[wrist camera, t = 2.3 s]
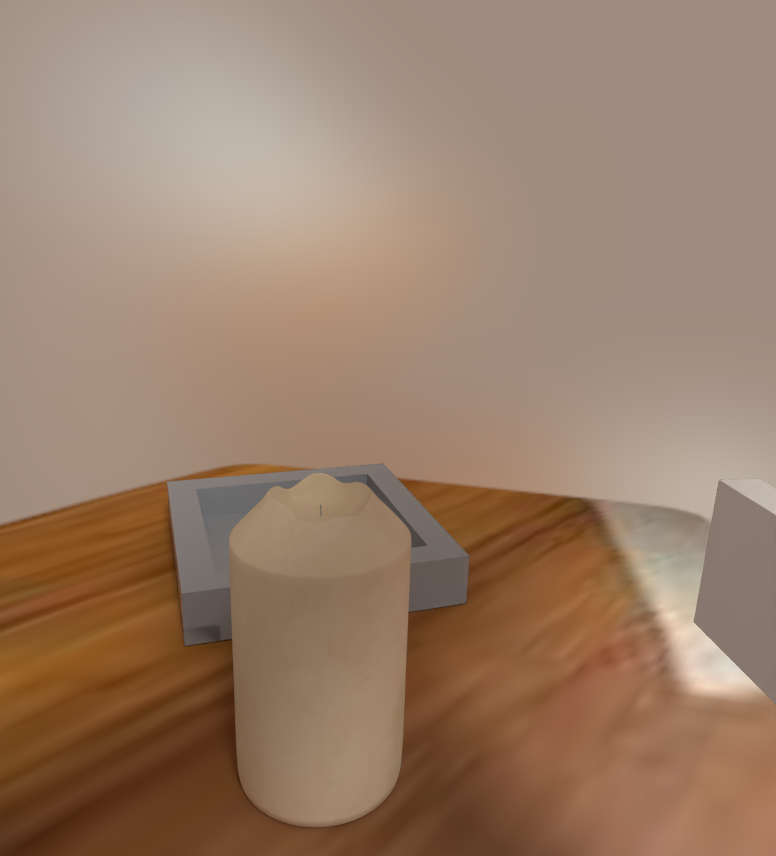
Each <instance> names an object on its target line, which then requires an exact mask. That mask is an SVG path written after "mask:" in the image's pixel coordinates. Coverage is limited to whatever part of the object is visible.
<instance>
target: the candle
mask: <svg viewBox="0 0 776 856" xmlns="http://www.w3.org/2000/svg"><path fill="white" fill-rule="evenodd" d="M410 564H411V533H410V531H409V529H408V528H407V526H406V525H405V524H404V523H403V522H402V521H401V519H400V518H399V517H398V516H397V515H396V514H395V513H394V512H393V511H392V510H391V509H390V508H389V507H388V506H386V505H385V504H384V503H383V502H382V501H381V500H380V499H379V498H378V497H377V496H376V495H375V494H374V492H373V491H372V490H371V489H370V488H369V487H368V486H367V485H365V484H363V483H361V482H353V483H342V482H340V481H338V480H336V479H335V478H334V477H332V476H330V475H328V474H324V473H314V474H312V475H309V476H307V477H306V478H304V479H303V480H302V481H300V482H299V483H298V484H296V485H295V486H294V487H292V488H290V489H285V488H282V487H280V486H275V487H273V488H271V489H270V490H269V491H268V492H267V493H266V495H265V496H264V498H263V499H262V500H261V501H260V502H259V503H258V504H257V505H256V506H255V507H254V508H253V509H252V510H251V511H250V512H249V513H248V514H247V515H245V516H244V517H243V518H242V519H241V521H240V522H239V523H238V524H237V525H236V526H235V527H234V528H233V530H232V531H231V533H230V536H229V566H230V594H231V620H232V647H233V674H234V701H235V728H236V752H237V767H238V774H239V778H240V782H241V785H242V788H243V791H244V792H245V794H246V796H247V798H248V799H249V800H250V801H251V802H252V804H253V805H254V806H256V807H257V808H258V809H259V810H260V811H262V812H263V813H265V814H266V815H268V816H269V817H272V818H274V819H276V820H278V821H281V822H284V823H287V824H291V825H295V826H302V827H329V826H335V825H340V824H344V823H347V822H350V821H353V820H356V819H358V818H360V817H363V816H365V815H366V814H368V813H370V812H371V811H373V810H374V809H376V808H377V807H378V806H379V805H381V804H382V803H383V802H384V801H385V799H386V798H387V797H388V796H389V795H390V793H391V792H392V790H393V789H394V787H395V785H396V783H397V779H398V776H399V772H400V768H401V761H402V747H403V728H404V705H405V681H406V658H407V634H408V611H409V587H410Z"/></svg>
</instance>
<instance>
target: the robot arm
mask: <svg viewBox="0 0 776 856" xmlns="http://www.w3.org/2000/svg"><path fill="white" fill-rule="evenodd" d="M694 623H695V624H696V625H697V626H698V627H699V628H700V629H701V630H702V631H703V632H704V633H705V634H706V635H707V636H708V637H709V638H710V639H711V640H712V641H713V642H714V643H715V644H716V645H717V646H718V647H719V648H720V649H721V650H722V651H723V652H724V653H725V654H726V655H727V656H728V657H729V658H730V659H731V660H732V661H733V662H734V663H735V664H736V665H737V666H738V667H739V668H740V669H741V670H742V671H743V672H744V673H745V674H746V675H747V676H748V677H749V678H750V679H751V680H752V681H753V682H754V683H755V684H756V685H757V686H758V687H759V688H760V689H761V690H762V691H763V692H764V693H765V694H766V695H767V696H768V697H769V698H770V699H771V700H772V701H773V702H774V703H775V704H776V488H775V487H773V486H771V485H770V484H768V483H766V482H764V481H763V480H761V479H732V480H731V479H728V480H719V483H718V489H717V494H716V500H715V505H714V512H713V517H712V522H711V528H710V534H709V539H708V545H707V550H706V556H705V562H704V567H703V573H702V578H701V584H700V590H699V595H698V601H697V606H696V612H695V618H694Z"/></svg>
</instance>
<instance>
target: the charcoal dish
mask: <svg viewBox="0 0 776 856" xmlns="http://www.w3.org/2000/svg"><path fill="white" fill-rule="evenodd" d="M314 473H324V474H328V475H330V476H332V477H334V478H335V479H336V480H338V481H340V482H342V483H353V482H361V483H363V484H365V485H367V486H368V487H369V488H370V489H371V490H372V491H373V492H374V494H375V495H376V496H377V497H378V498H379V499H380V500H381V501H382V502H383V503H384V504H385V505H386V506H388V507H389V508H390V509H391V510H392V511H393V512H394V513H395V514H396V515H397V516H398V517H399V518H400V519H401V521H402V522H403V523H404V524H405V525H406V526H407V528H408V529H409V531H410V533H411V564H410V587H409V611H408V612H412V611H419V610H425V609H432V608H438V607H445V606H452V605H458V604H465V603H466V599H467V584H468V570H469V555H468V554H467V553H466V552H465V551H464V550H463V548H462V547H461V546H460V545H459V544H458V543H457V542H456V541H455V540H454V539H453V538H452V537H451V536H450V535H449V533H448V532H447V531H446V530H445V529H444V528H443V527H442V526H441V525H440V524H439V523H438V522H437V521H436V519H435V518H434V517H433V516H432V515H431V514H430V513H429V512H428V511H427V510H426V509H425V508H424V507H423V506H422V504H421V503H420V502H419V501H418V500H417V499H416V498H415V497H414V496H413V495H412V494H411V493H410V492H409V491H408V489H407V488H406V487H405V486H404V485H403V484H402V483H401V482H400V481H399V480H398V479H397V478H396V477H395V476H394V474H393V473H392V472H391V471H390V470H389V469H388V468H387V467H386V466H385V465H384V464H372V465H361V466H348V467H337V468H325V469H313V470H301V471H290V472H278V473H266V474H254V475H243V476H231V477H219V478H207V479H196V480H184V481H172V482H167V490H168V506H169V522H170V530H171V539H172V547H173V555H174V563H175V572H176V580H177V588H178V596H179V605H180V613H181V621H182V629H183V637H184V646H188V645H195V644H201V643H208V642H215V641H221V640H228V639H232V620H231V594H230V566H229V536H230V533H231V531H232V530H233V528H234V527H235V526H236V525H237V524H238V523H239V522H240V521H241V519H242V518H243V517H244V516H245V515H247V514H248V513H249V512H250V511H251V510H252V509H253V508H254V507H255V506H256V505H257V504H258V503H259V502H260V501H261V500H262V499H263V498H264V496H265V495H266V493H267V492H268V491H269V490H270V489H271V488H273V487H275V486H280V487H282V488H285V489H290V488H292V487H294V486H295V485H296V484H298V483H299V482H300V481H302V480H303V479H304V478H306V477H307V476H309V475H312V474H314Z"/></svg>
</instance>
